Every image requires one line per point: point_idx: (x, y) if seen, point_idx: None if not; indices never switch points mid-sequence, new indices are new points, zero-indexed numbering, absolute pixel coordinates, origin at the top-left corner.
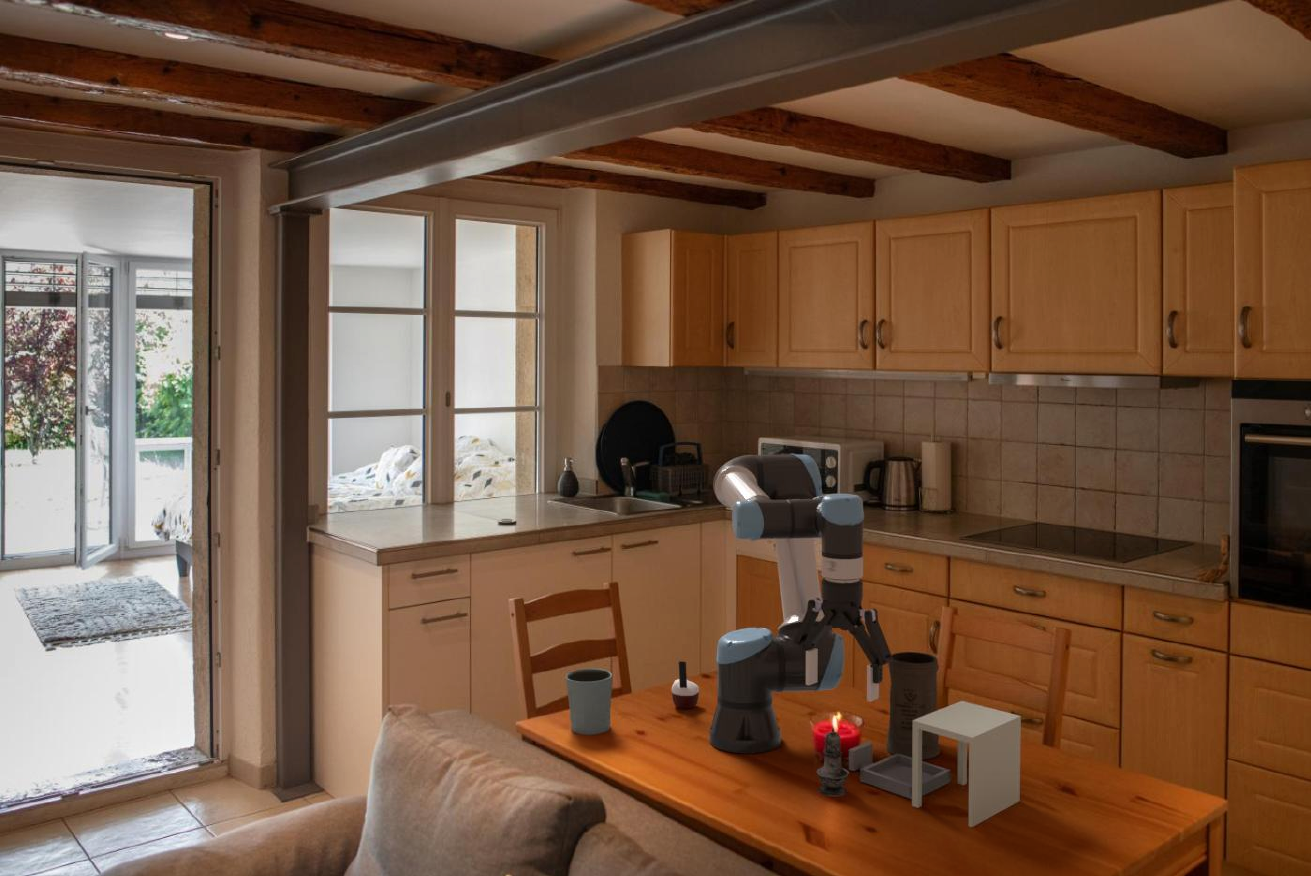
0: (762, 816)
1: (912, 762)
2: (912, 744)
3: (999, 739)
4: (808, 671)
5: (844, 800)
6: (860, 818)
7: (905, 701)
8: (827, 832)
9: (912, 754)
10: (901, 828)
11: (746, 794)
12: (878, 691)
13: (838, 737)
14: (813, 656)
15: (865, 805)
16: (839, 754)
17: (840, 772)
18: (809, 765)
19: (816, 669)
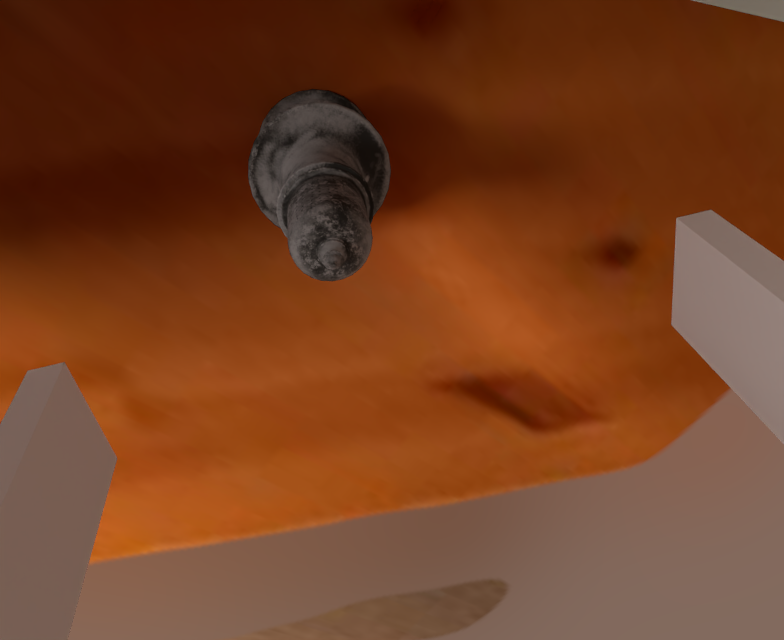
0: (347, 445)
1: (719, 6)
2: (780, 20)
3: None
4: (84, 555)
5: (411, 173)
6: (547, 227)
7: None
8: (540, 363)
9: (744, 12)
10: (686, 169)
11: (181, 407)
12: (745, 239)
13: (370, 237)
14: (13, 635)
15: (491, 139)
16: (371, 205)
17: (368, 175)
18: (16, 36)
19: (36, 460)
